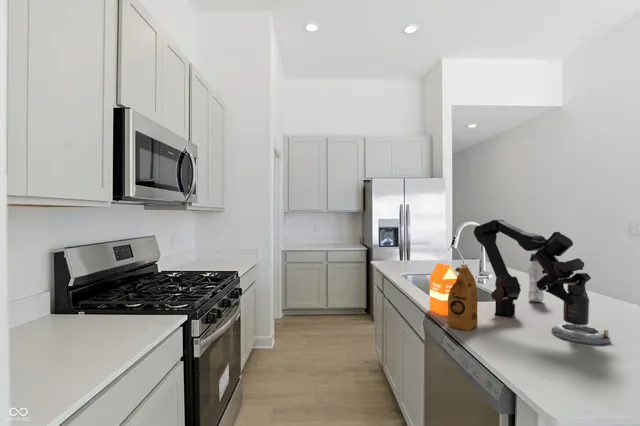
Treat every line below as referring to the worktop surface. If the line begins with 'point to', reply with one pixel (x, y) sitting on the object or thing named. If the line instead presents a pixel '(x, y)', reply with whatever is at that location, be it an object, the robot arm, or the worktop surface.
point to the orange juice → (441, 287)
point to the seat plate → (581, 334)
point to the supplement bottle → (577, 306)
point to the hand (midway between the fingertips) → (580, 303)
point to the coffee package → (463, 301)
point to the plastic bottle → (535, 282)
